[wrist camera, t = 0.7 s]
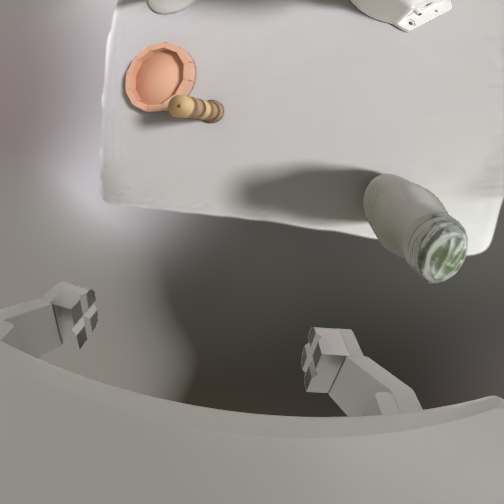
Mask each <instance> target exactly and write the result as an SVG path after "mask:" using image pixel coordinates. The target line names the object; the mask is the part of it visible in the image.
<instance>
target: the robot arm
mask: <svg viewBox="0 0 504 504" xmlns="http://www.w3.org/2000/svg"><path fill="white" fill-rule="evenodd" d="M350 1H351V2H352V3H353V4H354V5H355V6H356V7H357V8H358V9H359V10H360V11H362V12H363V13H365V14H366V15H368V16H370V17H372V18H374V19H377V20H380V21H383V22H387V23H390V24H393V25H395V26H396V27H398V28H399V29H401V30H403V31H405V32H410V31H412V30H414V29H416V28H418V27H419V26H421V25H423V24H425V23H427V22H429V21H431V20H432V19H434V18H436V17H438V16H440V15H442V14H444V13H446V12H448V11H450V10H451V8H452V5H451V1H450V0H350ZM409 23H411V24H412V25H410V24H409ZM95 301H96V297H95V292H94V291H93V290H92V289H89V288H85V287H82V286H78V285H74V284H71V283H67V282H59V283H58V284H57V285H56V286H54V287H53V288H52V289H51V290H50V291H49V292H48V293H47V294H45V295H44V296H43V297H42V298H41V299H40V300H38V299H35V300H31V301H28V302H25V303H22V304H18V305H15V306H12V307H8V308H5V309H1V310H0V504H504V399H501V398H500V397H498V396H489V397H484V398H481V399H477V400H473V401H468V402H464V403H459V404H455V405H450V406H444V407H439V408H433V409H427V410H422V408H421V405H420V403H419V401H418V399H417V397H416V395H415V393H414V391H413V389H411V388H410V387H408V386H407V385H406V384H404V383H403V382H401V381H400V380H399V379H397V378H396V377H394V376H393V375H392V374H390V373H389V372H388V371H386V370H385V369H383V368H382V367H381V366H379V365H378V364H377V363H375V362H374V361H372V360H371V359H370V358H368V357H364V356H363V354H362V351H361V350H360V347H359V345H358V342H357V340H356V338H355V336H354V333H353V331H352V330H350V329H330V328H317V327H312V328H311V330H310V332H309V335H308V338H309V343H308V344H306V345H305V347H304V350H303V354H302V369H303V371H305V373H306V374H305V377H304V381H305V387H306V391H307V392H321V393H329V395H330V396H331V397H332V399H333V400H334V401H335V402H336V403H337V404H338V405H339V407H340V408H341V409H342V410H343V411H344V412H345V413H346V414H347V415H348V417H291V416H289V417H288V416H274V415H261V414H251V413H241V412H233V411H226V410H219V409H212V408H206V407H200V406H194V405H189V404H184V403H179V402H174V401H168V400H164V399H160V398H155V397H151V396H147V395H143V394H139V393H135V392H132V391H128V390H124V389H121V388H117V387H114V386H111V385H107V384H105V383H101V382H98V381H95V380H92V379H89V378H87V377H84V376H81V375H78V374H75V373H73V372H70V371H67V370H65V369H62V368H59V367H57V366H55V365H52V364H50V363H47V362H45V361H43V360H40V359H38V358H40V357H42V356H43V355H45V354H47V353H49V352H50V351H52V350H54V349H56V348H58V347H59V346H61V345H62V344H64V345H66V346H70V347H73V348H76V349H80V348H81V347H82V346H83V344H84V343H85V342H86V340H87V334H89V333H92V332H93V331H94V329H95V327H96V325H97V322H98V311H97V309H96V307H95V306H94V304H93V303H94V302H95Z"/></svg>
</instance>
